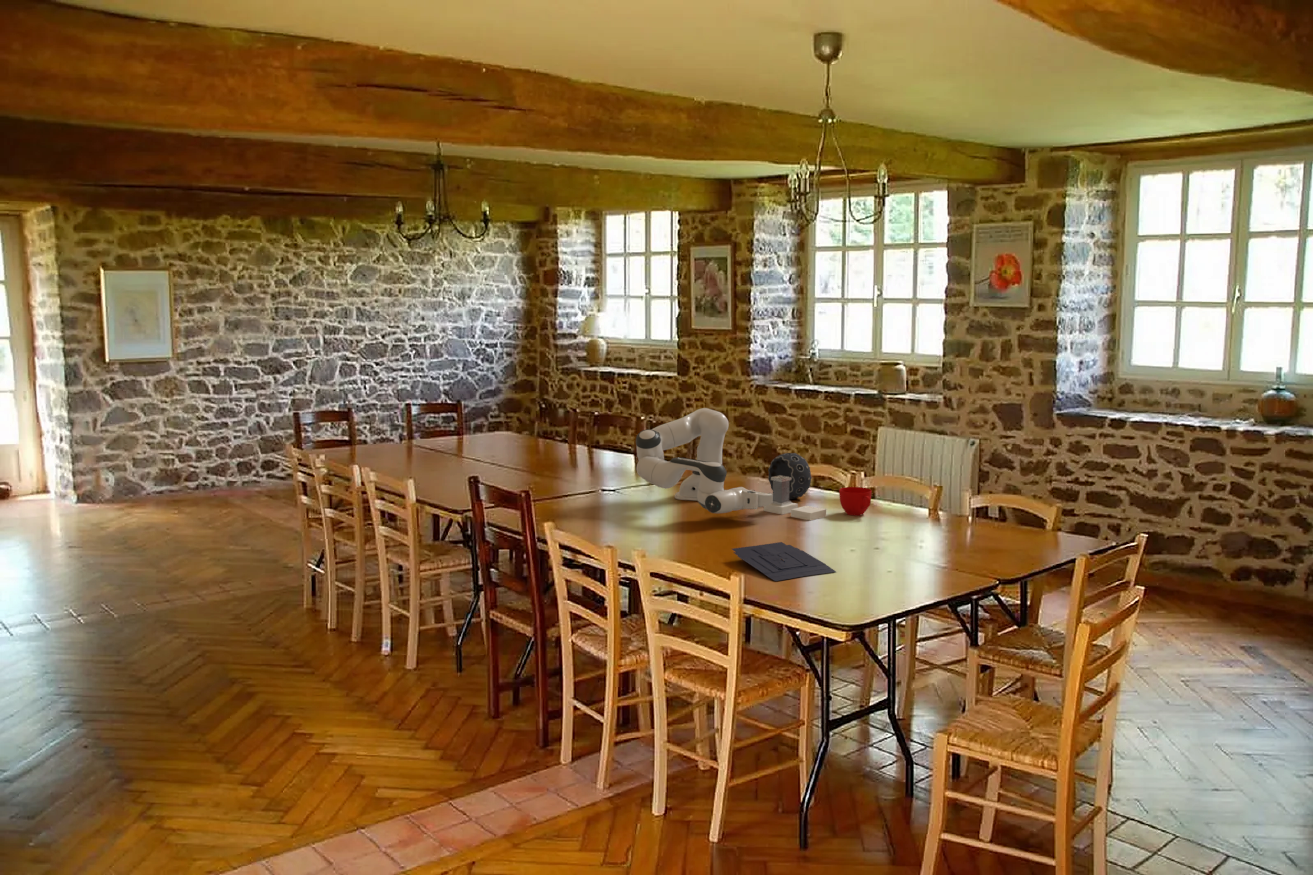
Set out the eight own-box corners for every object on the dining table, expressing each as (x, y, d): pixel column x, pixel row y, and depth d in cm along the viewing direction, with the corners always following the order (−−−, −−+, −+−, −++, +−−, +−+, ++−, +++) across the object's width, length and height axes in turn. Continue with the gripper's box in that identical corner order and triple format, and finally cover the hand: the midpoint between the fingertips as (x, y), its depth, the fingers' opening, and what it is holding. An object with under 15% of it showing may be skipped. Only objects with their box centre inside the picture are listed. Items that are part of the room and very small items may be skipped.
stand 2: (810, 520, 417) (810, 513, 417) (790, 516, 424) (791, 509, 424) (826, 516, 424) (826, 509, 424) (806, 512, 431) (806, 505, 431)
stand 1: (782, 514, 428) (782, 507, 428) (763, 510, 435) (763, 503, 435) (797, 510, 435) (797, 503, 435) (779, 507, 442) (779, 500, 442)
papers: (785, 548, 369) (786, 538, 368) (836, 579, 343) (837, 569, 342) (725, 557, 358) (726, 547, 357) (773, 589, 332) (774, 578, 331)
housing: (781, 505, 431) (782, 479, 429) (770, 503, 435) (770, 477, 433) (791, 503, 435) (791, 477, 433) (780, 501, 439) (780, 475, 437)
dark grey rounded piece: (785, 493, 472) (785, 449, 469) (813, 501, 455) (814, 455, 452) (765, 495, 466) (766, 451, 463) (793, 503, 449) (794, 457, 446)
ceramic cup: (855, 520, 417) (855, 495, 415) (832, 512, 432) (833, 488, 431) (882, 517, 422) (883, 493, 420) (859, 509, 437) (860, 485, 436)
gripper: (720, 502, 425) (743, 497, 434) (758, 510, 410) (781, 504, 419) (720, 486, 424) (743, 482, 433) (758, 494, 409) (781, 489, 418)
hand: (762, 493), depth 426 cm, fingers open, 8 cm apart
